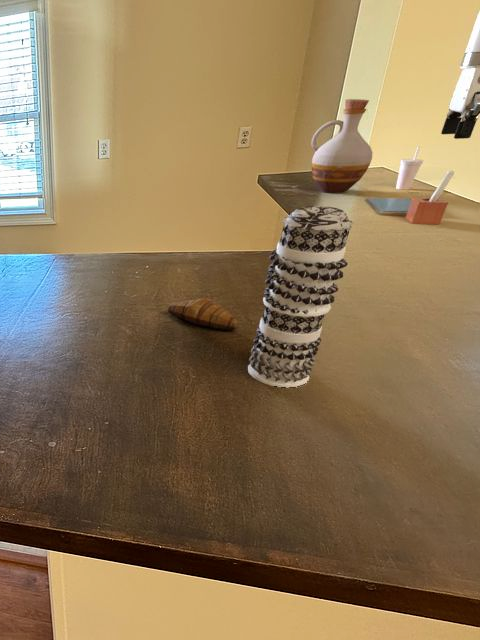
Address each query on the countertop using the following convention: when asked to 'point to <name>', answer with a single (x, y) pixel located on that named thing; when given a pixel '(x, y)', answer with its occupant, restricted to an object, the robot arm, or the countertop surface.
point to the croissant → (204, 313)
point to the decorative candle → (299, 294)
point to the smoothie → (408, 172)
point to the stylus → (442, 186)
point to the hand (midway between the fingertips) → (454, 136)
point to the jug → (342, 152)
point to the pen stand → (426, 210)
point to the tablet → (390, 205)
